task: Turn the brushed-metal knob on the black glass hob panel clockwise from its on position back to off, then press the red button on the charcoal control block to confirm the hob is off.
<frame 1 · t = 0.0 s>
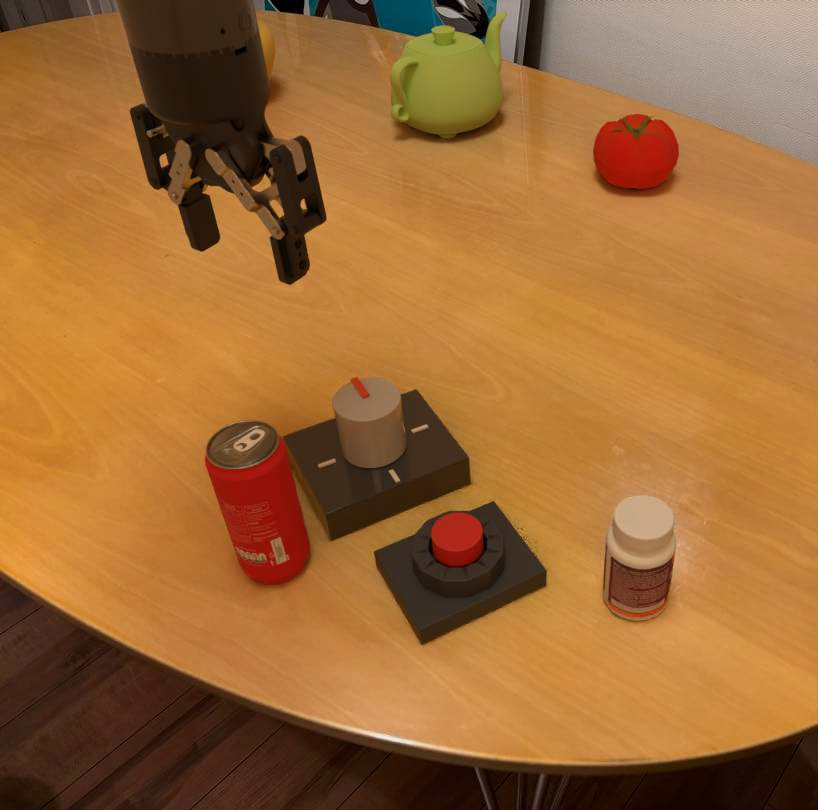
hand: (249, 262, 63), 18 cm above the table, tool pointing down, fingers open, 8 cm apart
pill bottle: (634, 597, 64), on the table
hob knob: (370, 421, 69), point 6 cm above the table, hinge at 90.0°
tomato: (632, 181, 114), on the table
control block: (460, 575, 65), on the table
beverage can: (277, 563, 66), on the table
off button: (457, 539, 62), point 4 cm above the table, slide at 0.1 cm
hob panel: (378, 473, 73), on the table
teapot: (455, 121, 129), on the table
vase: (222, 100, 134), on the table
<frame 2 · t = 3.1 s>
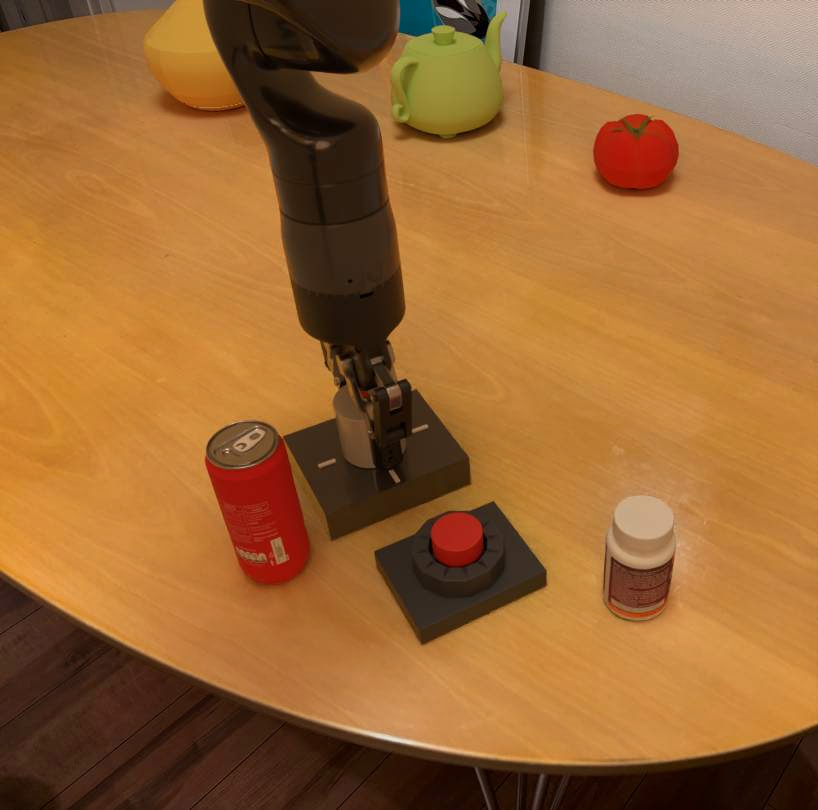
hand: (374, 442, 71), 3 cm above the table, tool pointing down, fingers closed on hob knob, 5 cm apart
hob knob: (370, 421, 69), point 6 cm above the table, hinge at 90.0°, touching gripper
everything else where it was.
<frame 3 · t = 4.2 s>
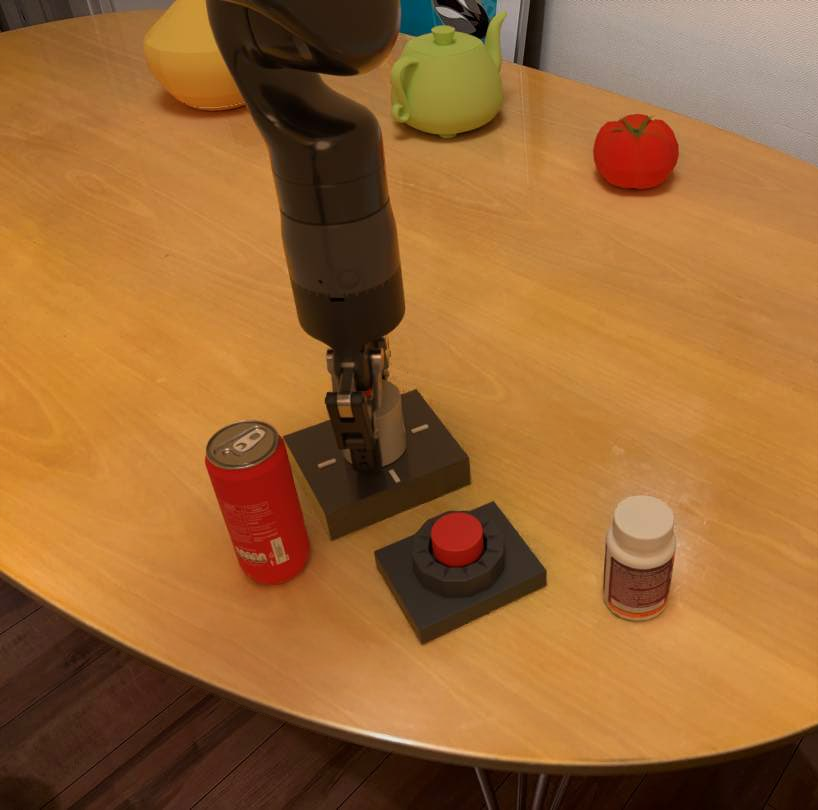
hand: (372, 442, 71), 3 cm above the table, tool pointing down, fingers closed on hob knob, 5 cm apart
hob knob: (370, 421, 69), point 6 cm above the table, hinge at 58.8°, touching gripper
everything else where it was.
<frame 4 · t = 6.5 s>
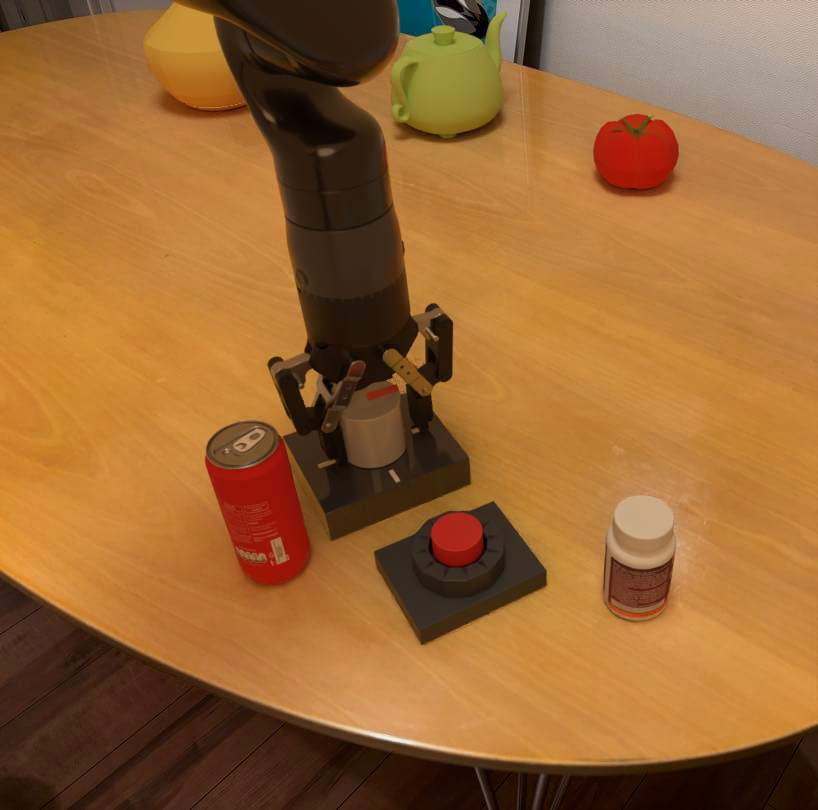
hand: (379, 440, 71), 3 cm above the table, tool pointing down, fingers open, 6 cm apart
hob knob: (370, 421, 69), point 6 cm above the table, hinge at -3.2°
everything else where it was.
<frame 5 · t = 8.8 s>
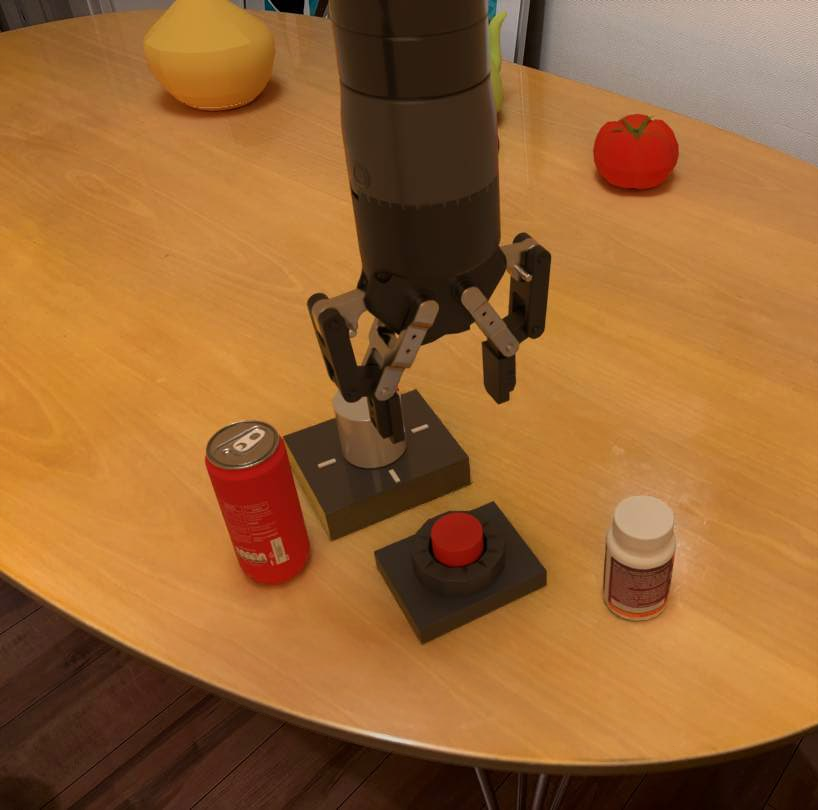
hand: (445, 414, 55), 16 cm above the table, tool pointing down, fingers open, 6 cm apart
nothing on the table moved.
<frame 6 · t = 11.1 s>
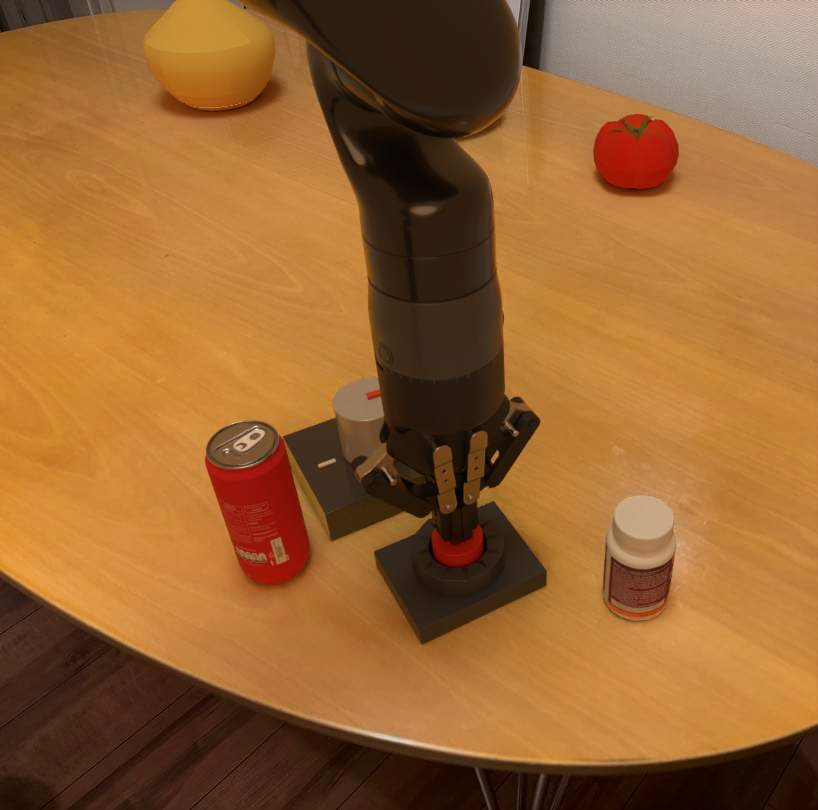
hand: (456, 534, 62), 4 cm above the table, tool pointing down, fingers closed
off button: (457, 543, 63), point 4 cm above the table, slide at -0.3 cm, touching gripper
everything else where it was.
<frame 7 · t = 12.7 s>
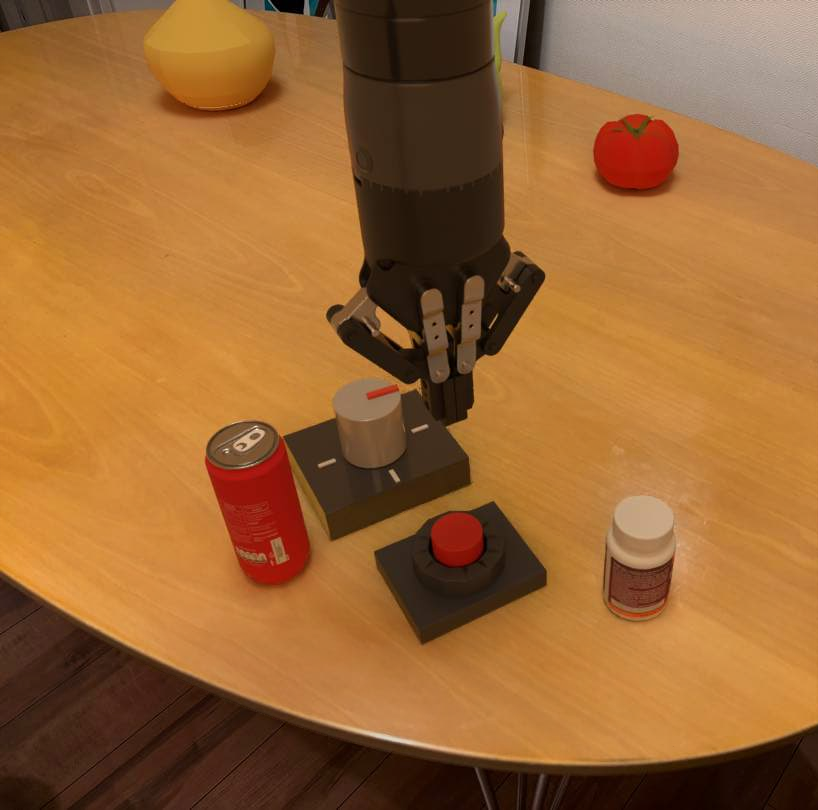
hand: (449, 415, 55), 16 cm above the table, tool pointing down, fingers closed
off button: (457, 539, 62), point 4 cm above the table, slide at 0.1 cm
everything else where it was.
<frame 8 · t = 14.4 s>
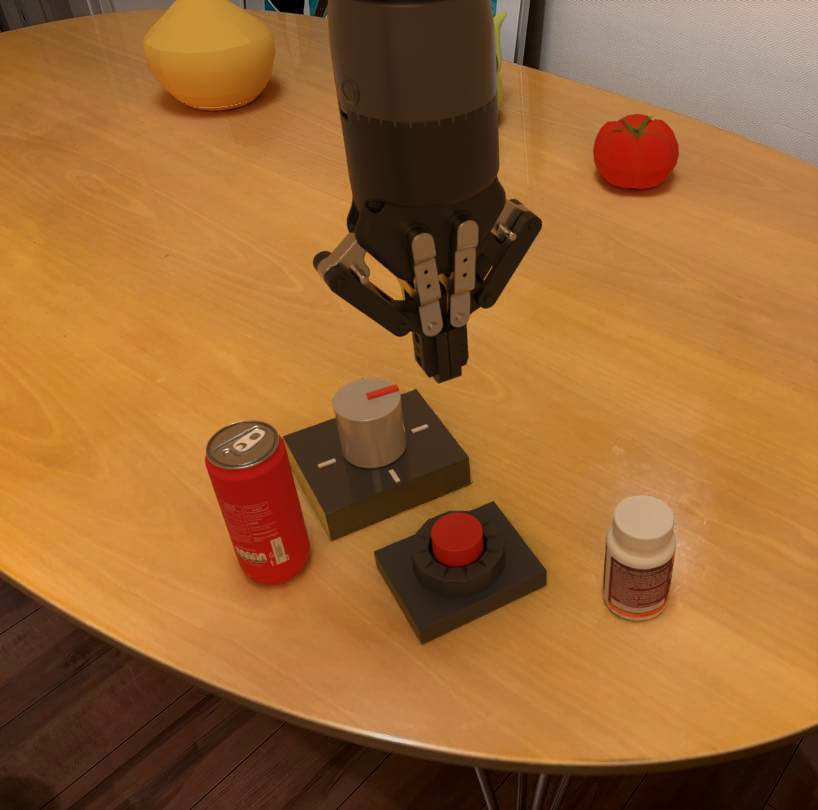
hand: (442, 372, 53), 19 cm above the table, tool pointing down, fingers closed
nothing on the table moved.
at the end: hob knob at -3° (first picture: +90°); off button pushed in 1.1 cm at the most during the clip, back to where it started at the end; off button slide at 0.1 cm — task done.
